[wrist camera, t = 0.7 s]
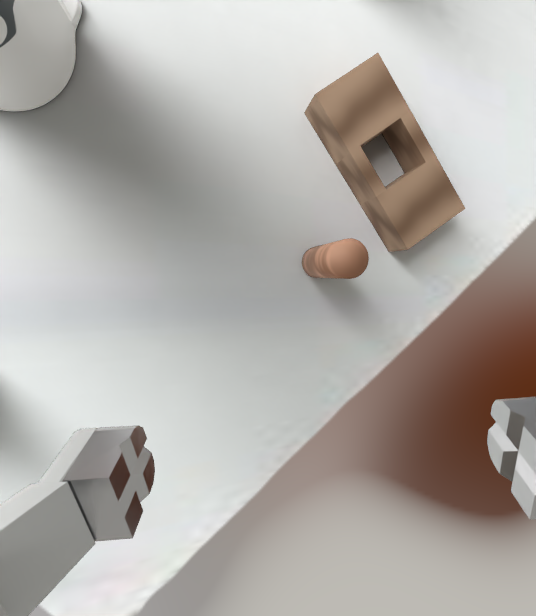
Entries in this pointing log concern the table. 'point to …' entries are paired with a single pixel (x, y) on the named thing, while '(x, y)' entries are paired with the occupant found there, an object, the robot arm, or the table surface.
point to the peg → (336, 260)
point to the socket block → (404, 144)
